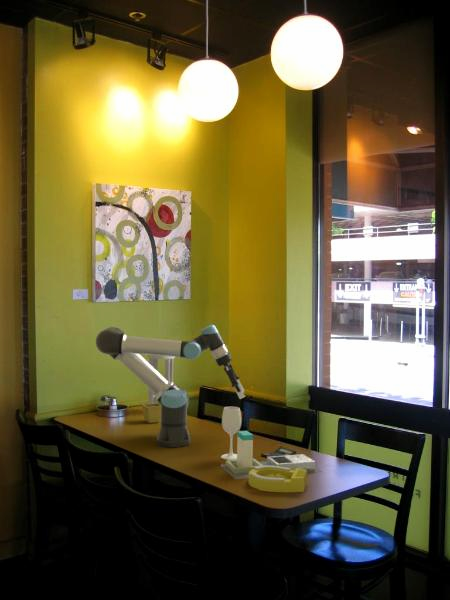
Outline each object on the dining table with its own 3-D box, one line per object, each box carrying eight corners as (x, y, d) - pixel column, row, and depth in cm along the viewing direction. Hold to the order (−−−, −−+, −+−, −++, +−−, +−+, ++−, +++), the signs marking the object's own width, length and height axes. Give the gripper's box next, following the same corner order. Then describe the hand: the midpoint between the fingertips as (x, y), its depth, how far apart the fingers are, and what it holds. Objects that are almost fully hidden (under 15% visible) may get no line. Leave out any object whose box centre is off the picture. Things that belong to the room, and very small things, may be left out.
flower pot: (141, 421, 328) (141, 404, 328) (156, 419, 332) (157, 402, 332) (147, 424, 321) (147, 407, 320) (163, 423, 325) (163, 405, 325)
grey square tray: (234, 473, 239) (234, 468, 239) (225, 465, 249) (225, 460, 249) (263, 471, 242) (263, 466, 242) (253, 463, 253) (254, 458, 253)
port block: (277, 473, 240) (277, 463, 240) (266, 465, 250) (266, 456, 250) (315, 470, 245) (315, 460, 245) (303, 462, 255) (303, 453, 255)
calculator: (261, 455, 264) (261, 448, 264) (280, 453, 272) (281, 446, 272) (276, 460, 257) (277, 453, 257) (296, 458, 264) (296, 451, 264)
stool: (176, 410, 358) (177, 349, 357) (170, 415, 343) (171, 352, 342) (150, 409, 360) (151, 348, 359) (143, 414, 345) (144, 351, 344)
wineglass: (244, 456, 265) (244, 407, 264) (237, 461, 256) (238, 410, 256) (224, 454, 267) (225, 405, 267) (217, 459, 259) (218, 409, 259)
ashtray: (301, 495, 217) (302, 481, 216) (243, 488, 222) (244, 474, 222) (308, 480, 232) (308, 467, 232) (254, 474, 238) (254, 461, 238)
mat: (235, 480, 232) (235, 479, 232) (219, 465, 250) (219, 464, 250) (322, 472, 243) (322, 471, 243) (301, 459, 261) (301, 458, 261)
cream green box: (242, 471, 242) (243, 435, 241) (236, 466, 248) (237, 431, 248) (252, 470, 243) (253, 434, 243) (246, 465, 250) (246, 430, 249)
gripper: (228, 355, 284) (250, 396, 284) (229, 349, 309) (248, 386, 309) (213, 362, 284) (235, 403, 285) (215, 355, 309) (235, 393, 310)
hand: (242, 395), depth 297 cm, fingers open, 13 cm apart
